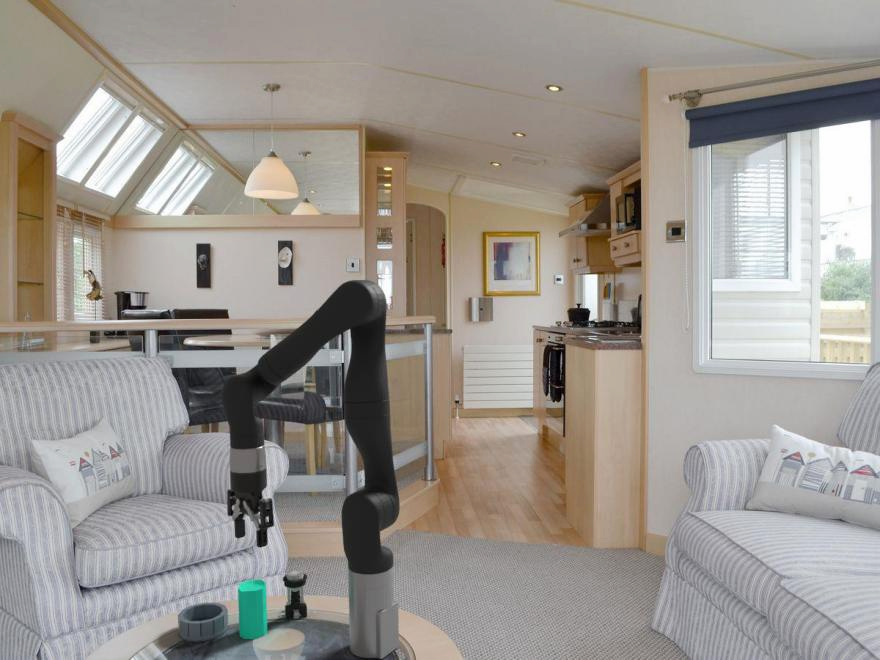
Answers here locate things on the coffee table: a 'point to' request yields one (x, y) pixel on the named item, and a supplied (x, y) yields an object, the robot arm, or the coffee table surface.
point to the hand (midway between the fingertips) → (250, 541)
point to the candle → (252, 609)
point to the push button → (294, 595)
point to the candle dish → (202, 622)
